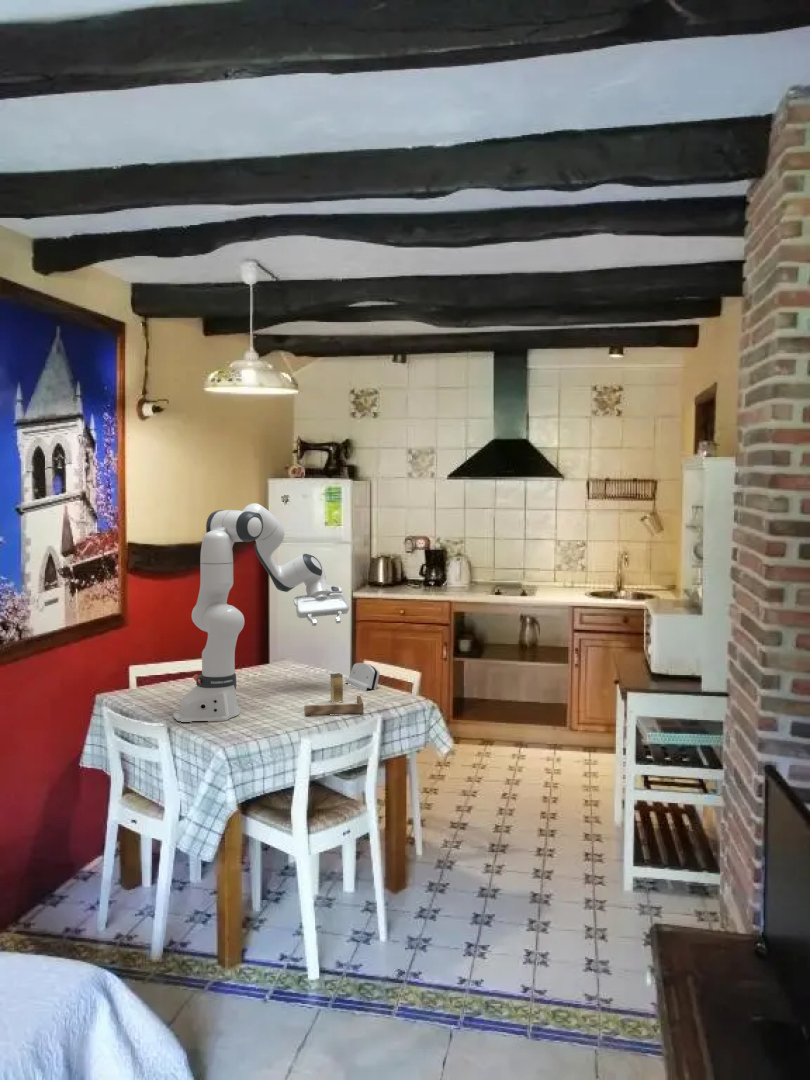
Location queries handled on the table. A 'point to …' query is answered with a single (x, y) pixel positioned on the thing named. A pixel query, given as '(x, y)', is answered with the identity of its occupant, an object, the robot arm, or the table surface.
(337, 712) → the corner tray
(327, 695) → the table surface
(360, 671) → the hinge
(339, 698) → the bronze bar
